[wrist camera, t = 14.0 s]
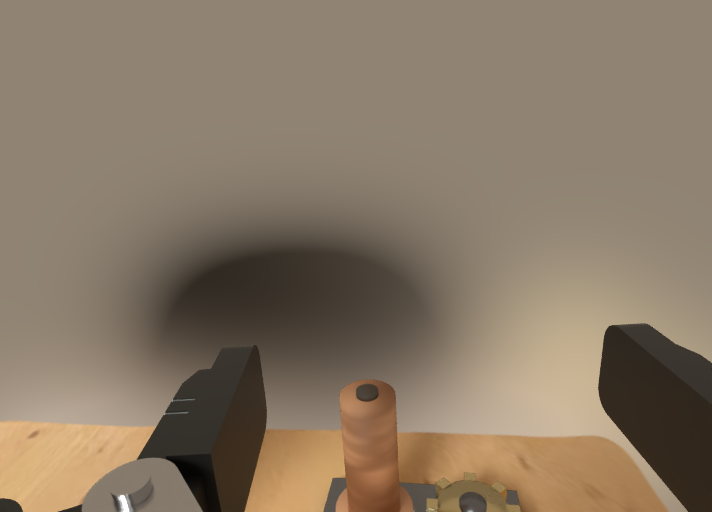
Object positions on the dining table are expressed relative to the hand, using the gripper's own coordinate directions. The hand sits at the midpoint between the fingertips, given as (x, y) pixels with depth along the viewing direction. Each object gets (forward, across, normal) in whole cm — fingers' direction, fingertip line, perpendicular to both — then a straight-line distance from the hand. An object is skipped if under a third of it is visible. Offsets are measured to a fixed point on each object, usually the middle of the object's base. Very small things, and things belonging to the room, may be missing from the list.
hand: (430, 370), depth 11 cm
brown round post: (+19, +1, +26) cm, 32 cm away
